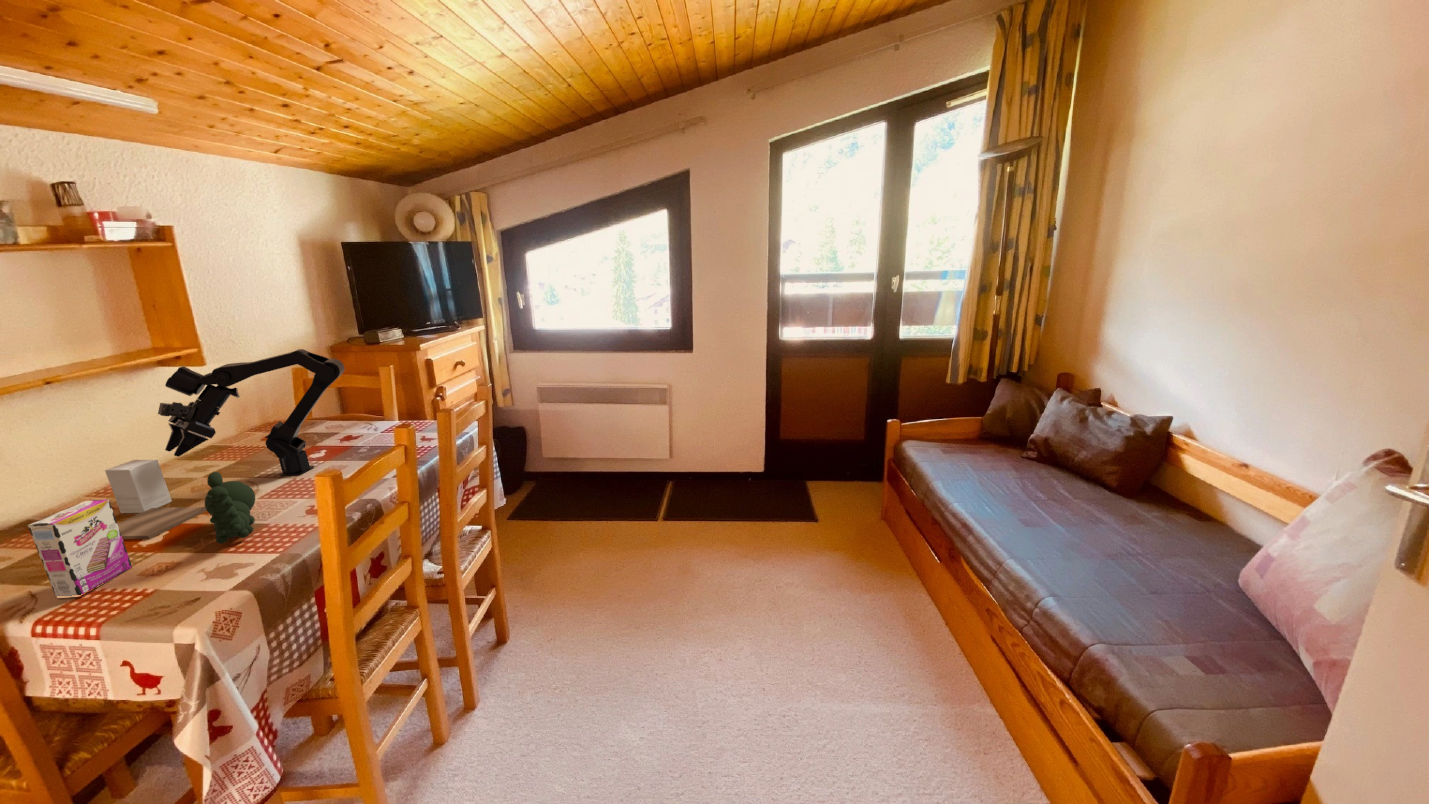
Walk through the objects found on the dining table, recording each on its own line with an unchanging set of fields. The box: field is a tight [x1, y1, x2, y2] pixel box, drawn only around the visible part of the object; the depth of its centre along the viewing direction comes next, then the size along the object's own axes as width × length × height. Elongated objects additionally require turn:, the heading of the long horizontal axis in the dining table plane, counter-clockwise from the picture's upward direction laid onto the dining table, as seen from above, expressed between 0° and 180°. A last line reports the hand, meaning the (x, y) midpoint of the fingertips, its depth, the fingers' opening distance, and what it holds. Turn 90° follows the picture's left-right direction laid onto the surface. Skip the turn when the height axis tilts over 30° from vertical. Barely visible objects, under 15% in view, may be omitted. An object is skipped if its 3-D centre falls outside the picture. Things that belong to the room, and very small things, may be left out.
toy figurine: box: [204, 471, 256, 545], centre depth 131 cm, size 9×19×25 cm
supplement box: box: [104, 459, 173, 514], centre depth 146 cm, size 7×7×13 cm
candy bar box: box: [27, 499, 133, 598], centre depth 111 cm, size 11×5×16 cm, turn 5°
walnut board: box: [117, 506, 207, 541], centre depth 138 cm, size 15×15×1 cm
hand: (171, 453), depth 151 cm, fingers open, 9 cm apart
